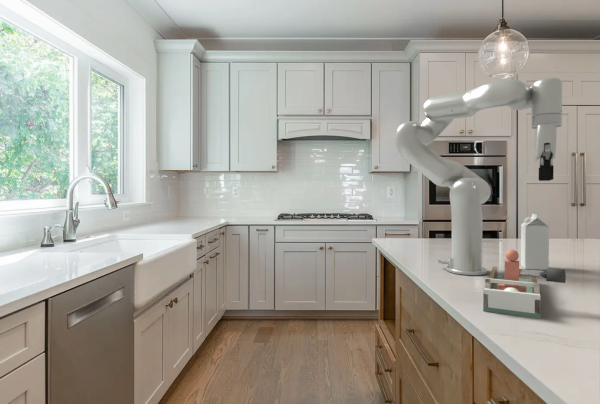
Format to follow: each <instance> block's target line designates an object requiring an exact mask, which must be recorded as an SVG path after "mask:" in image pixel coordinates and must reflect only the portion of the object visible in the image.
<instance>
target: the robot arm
mask: <svg viewBox="0 0 600 404" xmlns="http://www.w3.org/2000/svg"><path fill="white" fill-rule="evenodd" d="M505 106H506V107H508V108H510V109H511V110H515V111H522V110H527V109H530V108H531V127H530V128H531V129H533V130H534V131H535V132H534V161H535V162H538V161H539V167H538V181H540V182H541V181H543V182H545V181H547V182H548V181H553V180H554V169H555V168H554V162H553V161H554V160H555V158H556V153H557V140H558V139H557V133H558V132H557V131H558V128H560V127H562V125H563V123H562V122H563V121H562V120H563V81H562V80H561V79H560V78H558V77H547V78H546V77H545V78H541V79H538V80H536V81H534V82H533V83H532V84H531V85H529V84H526V83H525V82H523V81H521V80H518V79H505V80H501V81H495V82H489V83H485V84H482V85H479V86H477V87H474V88H472V89H470V90H463V91H459V92H452V93H447V94H442V95H441V94H440V95H436V96H432V97H429V98H428V99H427V100H425V102H424V103H423V106H422V112H423V115H424V117H425V119H424V120H423V121H422V122H418V121H412V120H411V121H404V122H402V123H401V124H400V125H398V127H397V128H396V132H395V137H394V138H395V139H394V140H395V145H396V149H397V151H398V153H399V154H400V156H401V157H402V158H403V159H404V160H405V161H406V162H407V163H409V164H410V165H411V166H412V167H414V169H416V170H417V171H418V172H420V173H421V174H422V175H423V176H424V177H426V178H427V179H428V180H429V181H430V182H432V183H433V184H434V185H436V186H437V187H443V188H449V189H450V190H449V202H450V210H451V212H450V213H451V214H450V215H451V256H449V257H447V258H444V257H438V258H437V263H438V264H441V265H447V266H446V271H447V272H449V273H452V274H457V275H463V276H465V275H466V276H482V275H487V274H488V269H487V268H486V267H483V212H482V206H481V205H483V204H485V203H486V202H487V201H488V200H489V199H490V197H491V187H490V185H489V184H488V182H487V181H486V180H485V179H483V178H482V177H480V176H479V175H478V174H476V173H475V172H474V171H472V170H471V169H469V168H468V167H467V166H465V165H463V164H462V163H460V162H459V161H455V160H451V159H447V158H444V157H442V156H441V155H440V154H438V153H437V152H435V151H434V150H432V149H431V148H429V147H428V146H429V145H430V144H432V143H433V142H434V141H435V140H436V139H437V138H438V137H439V136H440V135H441V134H442V133H443V132H444V131H445V129H447V128H448V126H449V125H450V124H451V123H452V122H453V120H455V119H461V118H469V117H470V118H471V117H472V116H473V117H474V115H475V114H477V113H478V112H480V111H482V110H485V109H491V108H497V107H505Z"/></svg>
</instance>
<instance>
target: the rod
mask: <svg viewBox="0 0 600 404" xmlns="http://www.w3.org/2000/svg"><path fill="white" fill-rule="evenodd" d="M519 257H520V255H519V252H518V251H517V250H515V249H508V250H507V251H506V252H505V259H504V277H505V280H512V281H519V278H520V276H521V277H530V278H531V277H536V278H542V279H545V280H546V282H552V283H563V284H566V279H567V276H566V273H567V272H566V269H563V268H550V267H549V268H546V270H538V269H525V268H520V260H518V259H519ZM508 287H512V288H515V289H517V290H518V291H519V292H525V293H526V286H519V285H510V284H498V285H497V290H504V289H506V288H508Z"/></svg>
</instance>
